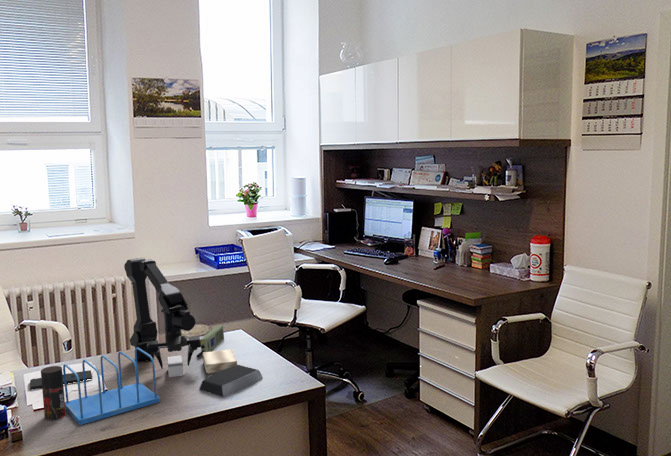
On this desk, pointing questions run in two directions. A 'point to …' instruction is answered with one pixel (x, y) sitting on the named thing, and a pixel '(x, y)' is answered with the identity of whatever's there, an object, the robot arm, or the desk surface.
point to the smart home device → (69, 379)
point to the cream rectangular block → (218, 360)
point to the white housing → (175, 366)
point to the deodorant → (53, 393)
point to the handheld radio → (211, 339)
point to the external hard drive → (230, 380)
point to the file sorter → (110, 394)
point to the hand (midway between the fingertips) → (175, 367)
